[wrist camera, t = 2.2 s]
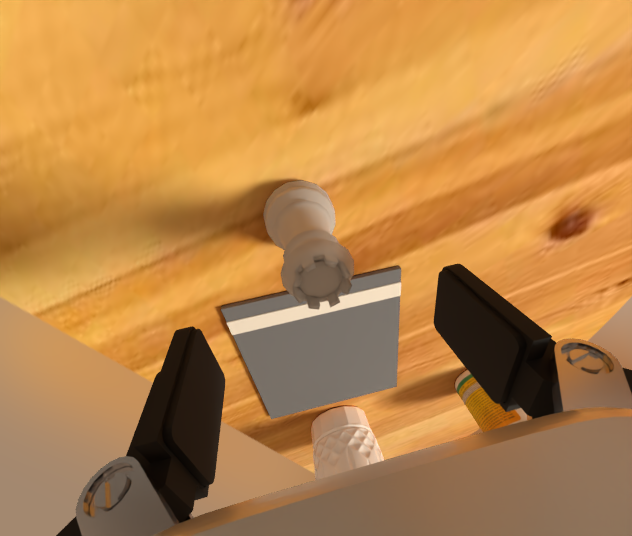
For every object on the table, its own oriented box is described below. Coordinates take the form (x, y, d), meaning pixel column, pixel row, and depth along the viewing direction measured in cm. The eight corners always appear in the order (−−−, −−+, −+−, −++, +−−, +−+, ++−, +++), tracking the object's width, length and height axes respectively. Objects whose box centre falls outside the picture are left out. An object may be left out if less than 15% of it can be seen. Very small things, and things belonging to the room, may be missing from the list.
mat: (221, 306, 21) (220, 310, 20) (398, 265, 22) (401, 269, 21) (271, 415, 30) (271, 420, 29) (395, 383, 31) (396, 387, 30)
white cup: (292, 429, 32) (304, 547, 24) (341, 393, 30) (373, 509, 22) (336, 444, 36) (359, 549, 28) (382, 413, 34) (422, 517, 26)
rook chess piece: (277, 252, 19) (289, 338, 13) (251, 192, 17) (248, 260, 10) (338, 230, 19) (382, 306, 13) (321, 167, 17) (364, 220, 10)
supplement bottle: (502, 359, 32) (582, 448, 24) (486, 387, 35) (553, 474, 27) (460, 365, 31) (529, 460, 23) (447, 393, 34) (505, 486, 26)
